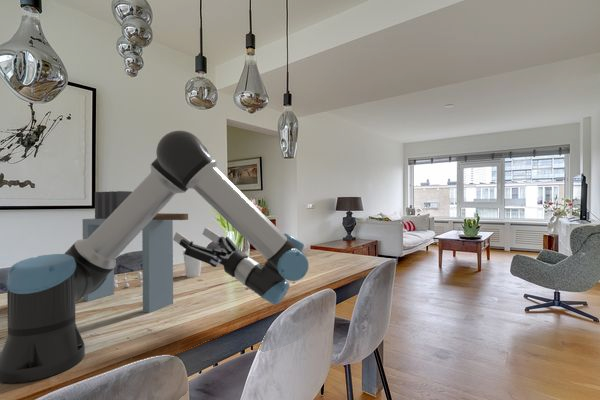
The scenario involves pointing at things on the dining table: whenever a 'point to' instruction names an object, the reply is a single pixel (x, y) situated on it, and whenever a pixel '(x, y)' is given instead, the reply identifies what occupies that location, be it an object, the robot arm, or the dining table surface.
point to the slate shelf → (145, 264)
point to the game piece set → (126, 279)
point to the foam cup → (192, 266)
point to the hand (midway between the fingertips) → (190, 232)
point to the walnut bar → (170, 216)
